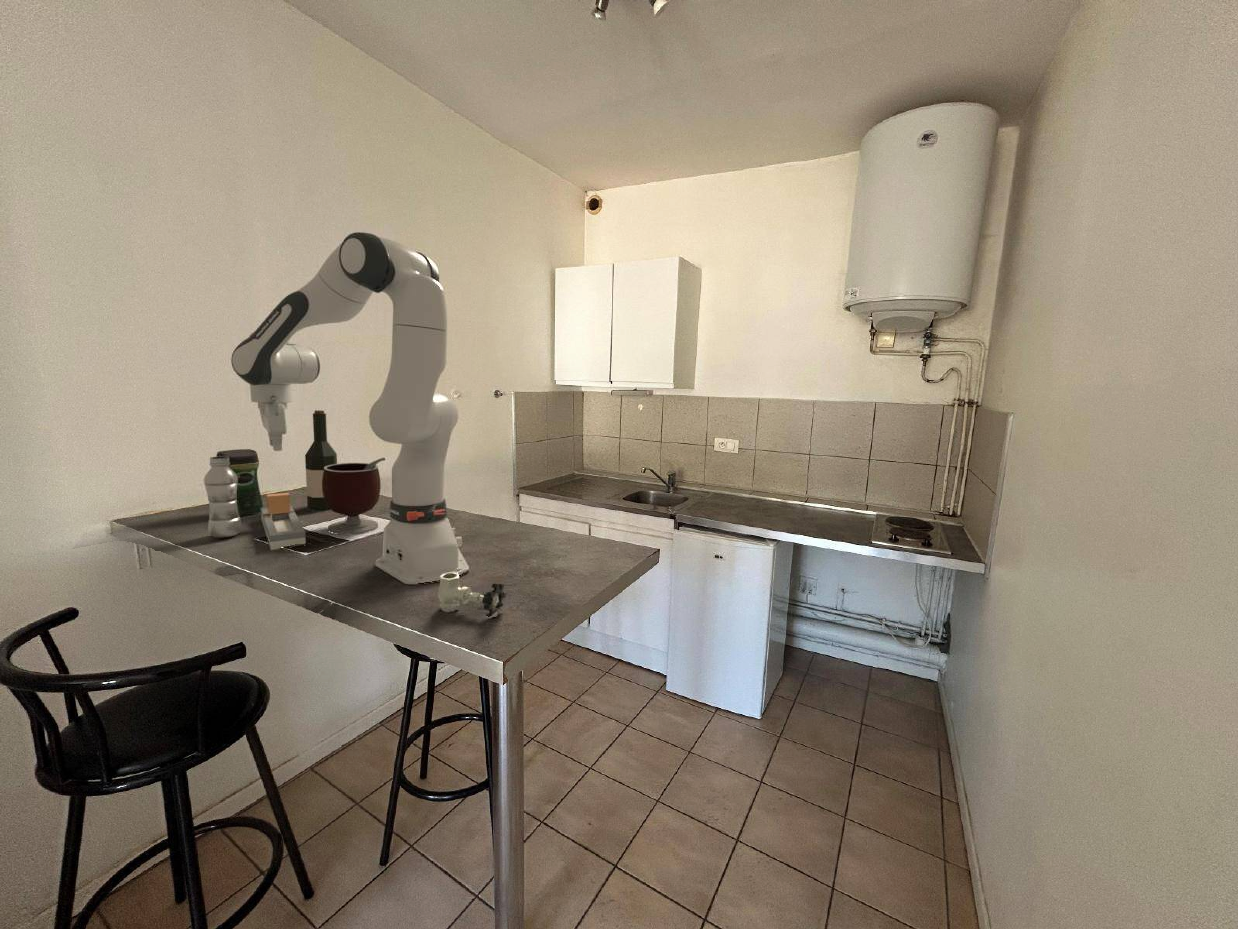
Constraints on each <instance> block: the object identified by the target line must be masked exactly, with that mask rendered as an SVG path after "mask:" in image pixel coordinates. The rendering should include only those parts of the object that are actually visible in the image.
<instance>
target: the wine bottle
mask: <svg viewBox="0 0 1238 929" xmlns="http://www.w3.org/2000/svg"><path fill="white" fill-rule="evenodd" d="M312 420H313V421H312V425H313V428H312V430H313V442H312V443H311V445H310V447H309V449H308V450H307V451H306V453H305V455H304V458H305V459H304V462H305V481H306V502H307V503H306V504H307V510H310V511H312V510H313V512H327V511H332V510H331V509H330V508H329V507H328V506H327V505H326V503H325V500H324V496H323V491H322V478H323V472H324V467H325V466H328V465H333V464H338V454H337V452H336V451H335V449H334V448H333V447H332V445H331V444H330V443H329V441H328V431H327V428H328V427H327V413H325V410H317V409H316V410H314V412H313V413H312ZM326 510H327V511H326Z"/></svg>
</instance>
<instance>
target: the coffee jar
mask: <svg viewBox="0 0 1238 929" xmlns="http://www.w3.org/2000/svg"><path fill="white" fill-rule="evenodd" d="M220 456H225V457H229V462H230V465H229V468H231V469H232V470H233V471H234V473H235V474H236V475H237V478H238V482H237V498H236V500H237V508H238V513H239V517H241V516H248V515H253V514H258V513H261V508H264V506H263V499H262V495H261V494H262V493H261V491H260V486H259V485H260V484H259V480H258V469H259V467H260V460H259V457H258V452H257V451H256V450H254V449H251V448H250V449H249V448H245V449H243V448H240V449H239V448H238V449H227V450H221V451H217V453H216V456H215V457H220Z"/></svg>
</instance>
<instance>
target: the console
mask: <svg viewBox="0 0 1238 929" xmlns="http://www.w3.org/2000/svg"><path fill="white" fill-rule="evenodd" d="M260 514H261V515H260V517H261V522H262V526H263V529H264V532H265V535H266V539H267V538H268V539H267V542H268V541H269V543H268V545H270V546H269V548H270V551H274V550H275V551H276V550H279V549H278V548H281V547H284V546H290V545H295V544H305V543H307V542H306V539H307V538H306V531H305V528H304V527H303V525H302V523H301V521H300V519H299V518H298V515H297V514H296V512H295V510H294V508H293V506H292V505H291V504H290V513H287V519H283V520H274V521H273V520H272V515H268V508H267V506H266V507H263V508H261V511H260Z"/></svg>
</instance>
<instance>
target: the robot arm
mask: <svg viewBox="0 0 1238 929" xmlns="http://www.w3.org/2000/svg"><path fill="white" fill-rule="evenodd" d="M381 292H382V293H385V294H386V295H387V296H388V297H389V298H390V300H391V302H392V310H393V312H392V329H391V330H392V331H391V332H392V333H391V334H392V336H391V337H392V338H391V359H390V364H389V371H388V374H387V376H386V379H385V380H386V381H385V383H384V386H383V388H382V392H381V394H380V396H379V397H378V399H377V400H376V401H375V402H374V403H373V404H372V406H371V408H370V411H369V415H368V420H369V421H368V422H369V426H370V428H371V431H372V432H373V433H374V435H375V436H377V437H378V438H379V439H380V440H382V441H384V442H387V443H389V444H396V445H401V447H400V450H399V453H398V456H397V458H396V459H395V461H394V462H393V464H392V468H391V492H392V493H391V498H392V499H391V501H390V505H389V516H390V520H389V522H388V524H386V526H384V528H383V535H382V536H383V537H382V538H383V539H382V541H383V542H382V556H381V557H379V558H378V559H376V560H375V563H374V564H375V567H377V568H378V569H380V570H382V571H383V572H385V573H387V575H390V576H392V577H393V578H395V579H396V580H399V581H400V582H401V583H403V584H405V585H419V584H418V583H424V582H431V583H433V582H432V581H436V580H440V576H441V575H442V574H444V573H450V572H453V573H458V574H459V575H460V574H462V573H463V572H466V571H467V570H469V571H470V566H469V565H468V562H467V561H466V559H465V558H464V556H463V554H462V552H461V551H460V549H459V547H462V546H463V538H462V536H455V534H456V528H455V527H452V526H451V523H450V518H449V519H448V510H447V509H448V506H447V502H446V499H445V497H444V496H445V490H444V489H445V465H446V464H445V463H446V459H447V453H448V449H449V446H450V445H449V444H450V441H451V436H452V433H453V431H454V428H455V426H457V423H458V421H459V420H458V419H459V410H458V406H456V404H455V402H454V401H453V400H451V398H450V397H447V395H446V396H445V395H444V394H441V393H438V392H436V389H437V385H438V381H439V379H440V376H441V375H442V374H443V372H444V371H445V369H446V364H447V342H448V341H447V340H448V314H447V313H448V311H447V303H446V302H447V301H446V296H445V290H444V288H443V286H442V284H440V274H439V270H438V267H437V265H436V264H435V263H434V261H433V260H432V259H431V258H429V257H428V256H427V255H425V254H423V253H421V252H419V251H415V250H413V249H411V248H409V247H407V246H405V245H403V244H401V243H400V242H398V241H395V240H392V239H389V238H384V237H381V236H377V235H376V234H373V233H368V232H362V231H361V232H360V231H358V232H356V231H355V232H351V233H350V234H348V235H347V236H346V237H344V239H343V241H342V242H341V243H340V244H339V245H338V246H337V247H336V248H335V249H333V251H332V252H331V254H329V255H328V257H327V258H326V259H325V261H324V263H322V265H321V267H320V268H319V270H318V272H317V273H316V274H315V275H314V277H313V278H311V280H309V281H308V282H307V283H306V284H305V285H304V286H302V287H300V288H299V289H298V290H296V291H293V292H291V293H289V294H287V295H286V296H285V297H284V298H283V299H281V301H280V302H278V304H277V305H276V306H275V307H274V309H272V311H271V312H270V313H269V314H268V316H267V317H265V319H264V320H263V321H262V322H261V323H260V325H259V326H258V327H257V329H255V330H254V331H253V332H251V333H250V334H249V336H248V337H247V338H246V339H244V340H242V341H241V342H240V343H239V344H238V345H237V346H236V347H235V349H234V351H233V352H232V353H231V358H230V360H231V366H232V369H233V371H234V372H235V374H236V375H237V376H239V378H240V379H241V380H243V381H244V382H246V383H247V384H249V390H250V401H251V402H252V403H257V408H258V409H259V413H260V418H261V422H262V426H263V428H264V429H265V430H266V431H267V435H268V439H269V445H270V446H271V447H272V450H273V451H274V452H281V451H283V435H286V434H287V431H288V429H287V428H288V427H287V417H286V410H285V409H288V404H289V403H293V402H294V399H293V386H292V385H296V384H298V385H305V384H309V383H313V382H314V381H315V380H316V379H317V378H318V376H319V375H320V372H321V371H320V370H321V362H320V359H319V356H318V355H317V353H316V352H315V351H314V350H313V349H312V348H310V347H307V346H304V345H301V344H299V343H297V342H295V341H293V340H291V339H292V337H294V336H295V334H296V333H298V332H299V331H300V330H303V329H306V328H310V327H312V326H313V327H314V326H319V325H326V324H335V323H336V324H338V323H343V322H344V323H345V322H348V321H350V320H352V319H353V318H355V317H356V316H357V315H358V314H359V313H361V311H362V310H363V308H364V307H365V305H366V304H367V302H368V301H369V299H370V298H371V296H372V295H373V293H375V294H380V293H381ZM424 584H425V583H424Z"/></svg>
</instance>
